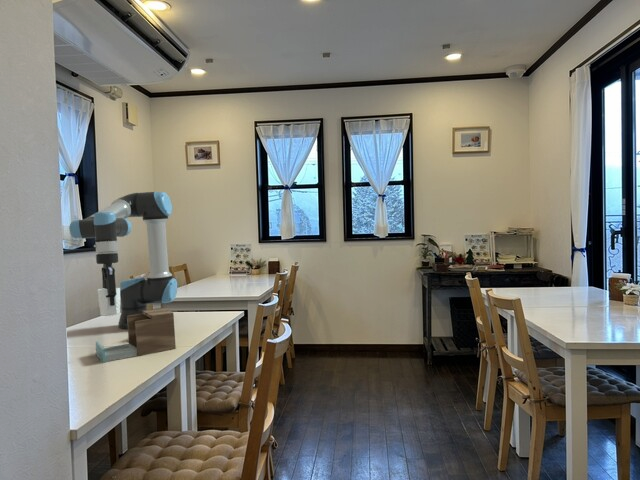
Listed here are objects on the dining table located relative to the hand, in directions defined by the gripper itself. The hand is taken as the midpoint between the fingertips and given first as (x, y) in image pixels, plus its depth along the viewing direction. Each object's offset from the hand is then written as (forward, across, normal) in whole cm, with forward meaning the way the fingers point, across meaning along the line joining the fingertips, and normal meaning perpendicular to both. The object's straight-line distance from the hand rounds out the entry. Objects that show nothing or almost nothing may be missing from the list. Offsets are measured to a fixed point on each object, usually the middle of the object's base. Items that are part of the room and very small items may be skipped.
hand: (110, 312), depth 173 cm
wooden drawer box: (+16, +2, +14) cm, 21 cm away
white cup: (+1, 0, 0) cm, 1 cm away
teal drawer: (+16, +2, +2) cm, 16 cm away
